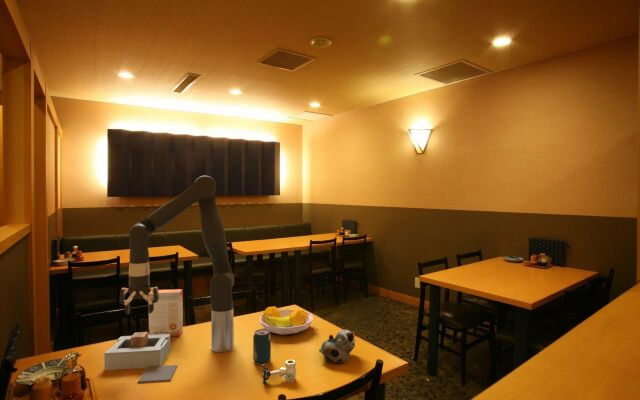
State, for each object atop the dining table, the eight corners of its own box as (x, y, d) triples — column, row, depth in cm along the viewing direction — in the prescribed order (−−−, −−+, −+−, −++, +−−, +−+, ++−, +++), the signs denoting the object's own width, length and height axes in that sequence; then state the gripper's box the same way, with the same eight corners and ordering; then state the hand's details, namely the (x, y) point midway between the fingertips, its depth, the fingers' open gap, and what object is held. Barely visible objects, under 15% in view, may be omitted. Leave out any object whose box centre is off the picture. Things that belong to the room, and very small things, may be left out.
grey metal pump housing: (324, 348, 159) (339, 319, 160) (348, 364, 154) (363, 334, 155) (313, 352, 145) (330, 320, 146) (339, 370, 140) (356, 337, 142)
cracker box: (183, 331, 177) (183, 288, 176) (179, 336, 171) (179, 292, 170) (153, 332, 175) (152, 289, 175) (148, 337, 169) (148, 292, 169)
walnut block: (148, 351, 150) (147, 331, 150) (144, 356, 146) (144, 336, 145) (135, 351, 150) (135, 332, 149) (130, 357, 145) (130, 337, 145)
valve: (294, 374, 136) (261, 378, 133) (294, 357, 136) (262, 360, 133) (297, 383, 130) (263, 388, 127) (297, 365, 130) (263, 369, 127)
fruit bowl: (290, 316, 199) (290, 295, 199) (324, 330, 179) (324, 307, 179) (245, 329, 180) (245, 306, 180) (277, 346, 160) (277, 321, 160)
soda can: (273, 359, 148) (273, 329, 148) (265, 366, 142) (265, 336, 142) (258, 356, 151) (258, 327, 150) (249, 363, 144) (250, 333, 144)
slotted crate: (170, 349, 157) (170, 333, 157) (160, 366, 141) (160, 349, 141) (120, 351, 154) (120, 336, 154) (104, 370, 138) (104, 353, 138)
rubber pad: (177, 366, 142) (177, 364, 142) (170, 380, 131) (170, 379, 131) (147, 368, 140) (147, 366, 140) (137, 383, 129) (137, 381, 129)
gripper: (160, 271, 152) (160, 309, 152) (123, 271, 149) (124, 310, 150) (155, 275, 144) (155, 315, 145) (116, 276, 142) (116, 317, 142)
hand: (139, 313), depth 147 cm, fingers open, 8 cm apart
